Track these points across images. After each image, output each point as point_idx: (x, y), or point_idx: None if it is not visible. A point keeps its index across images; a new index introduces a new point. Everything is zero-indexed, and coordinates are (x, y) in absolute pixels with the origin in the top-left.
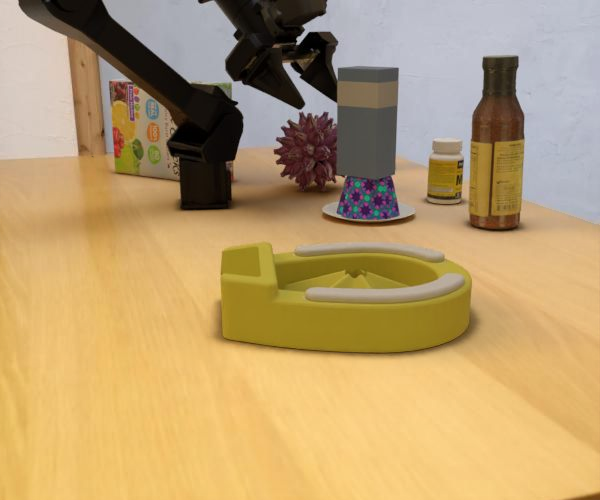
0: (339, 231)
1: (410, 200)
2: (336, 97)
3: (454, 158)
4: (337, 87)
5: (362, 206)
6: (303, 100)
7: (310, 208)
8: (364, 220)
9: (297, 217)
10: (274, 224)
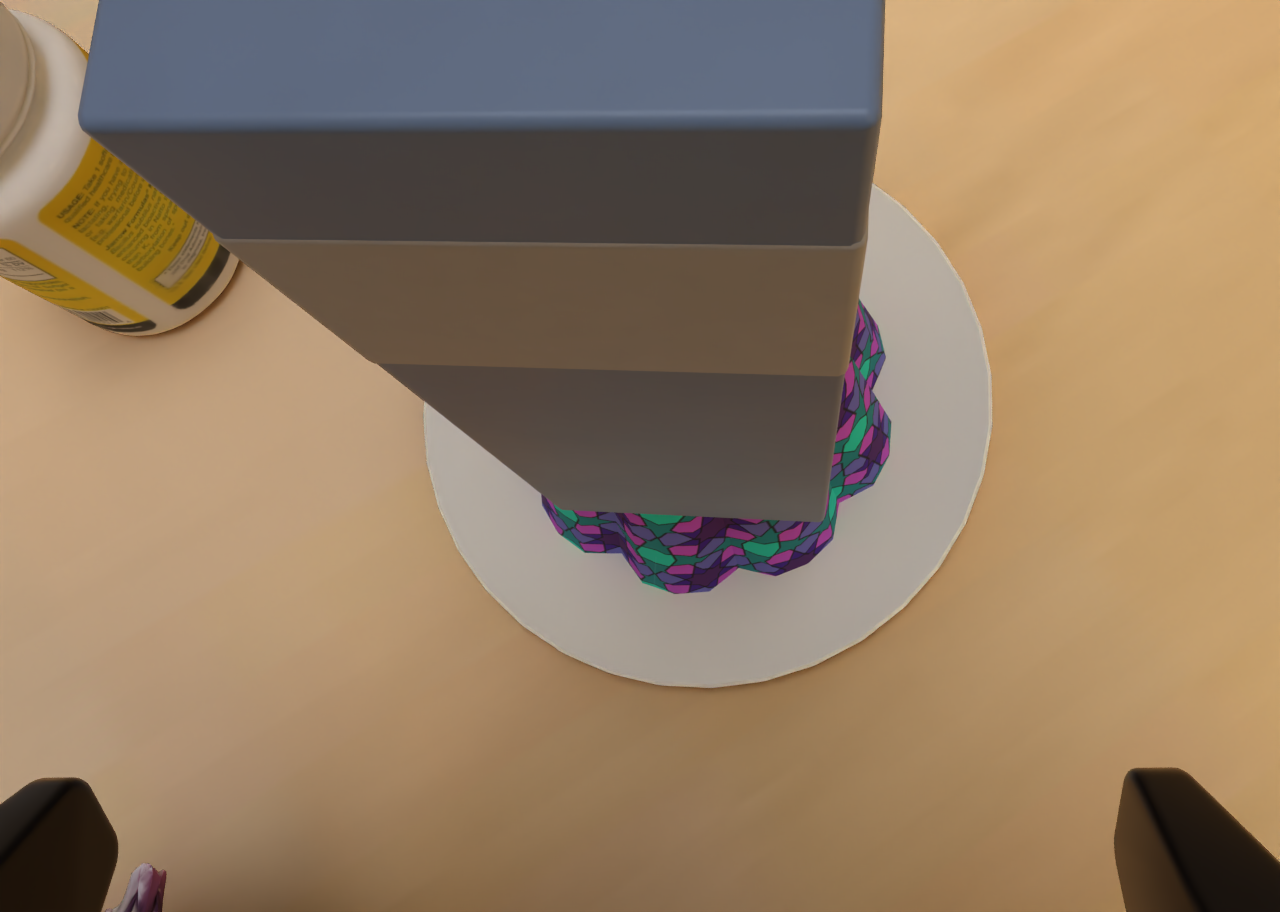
0: (1133, 333)
1: (224, 408)
2: (69, 881)
3: (48, 25)
4: (858, 284)
5: (869, 320)
6: (1172, 799)
7: (747, 811)
8: (950, 273)
9: (1010, 737)
10: (1261, 752)
